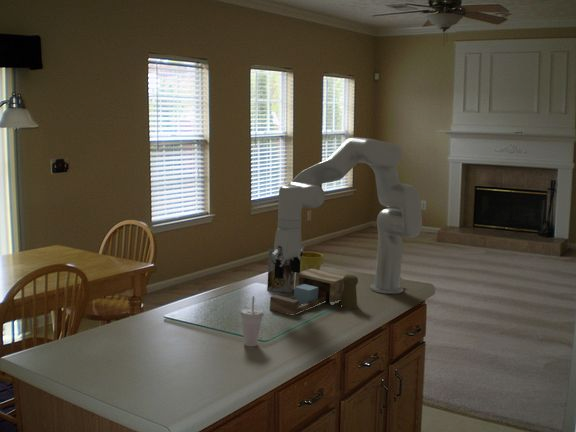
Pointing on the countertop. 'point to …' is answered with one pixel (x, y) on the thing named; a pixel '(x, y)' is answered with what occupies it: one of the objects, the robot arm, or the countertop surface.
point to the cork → (349, 292)
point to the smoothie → (251, 324)
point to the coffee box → (277, 283)
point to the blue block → (305, 293)
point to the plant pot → (311, 261)
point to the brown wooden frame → (294, 303)
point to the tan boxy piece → (322, 282)
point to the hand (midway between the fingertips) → (287, 275)
